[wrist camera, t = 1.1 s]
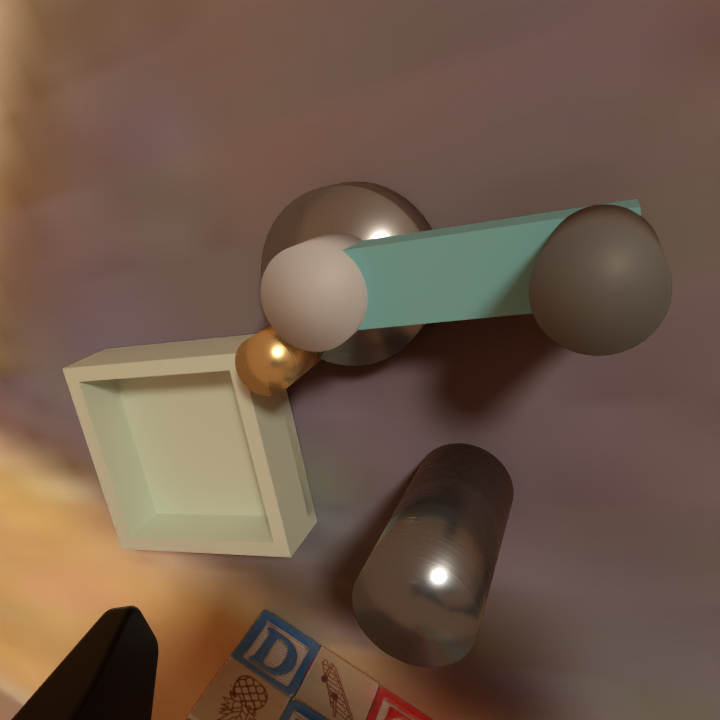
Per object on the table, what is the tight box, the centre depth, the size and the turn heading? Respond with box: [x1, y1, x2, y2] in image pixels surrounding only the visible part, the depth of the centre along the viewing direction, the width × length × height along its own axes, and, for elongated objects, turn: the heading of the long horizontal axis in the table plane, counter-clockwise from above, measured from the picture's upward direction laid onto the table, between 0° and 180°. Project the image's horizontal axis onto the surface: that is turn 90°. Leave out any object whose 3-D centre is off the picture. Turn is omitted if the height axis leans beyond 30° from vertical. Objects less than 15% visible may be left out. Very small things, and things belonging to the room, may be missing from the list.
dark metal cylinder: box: [352, 443, 514, 667], centre depth 21 cm, size 4×4×7 cm
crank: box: [260, 199, 672, 356], centre depth 17 cm, size 11×3×5 cm, turn 101°
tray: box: [62, 334, 317, 557], centre depth 26 cm, size 8×8×2 cm
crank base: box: [235, 182, 432, 396], centre depth 21 cm, size 6×6×4 cm
